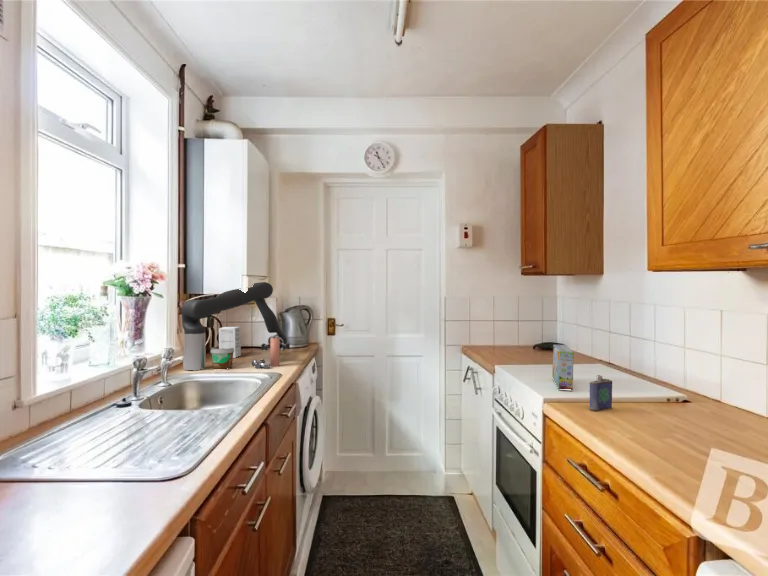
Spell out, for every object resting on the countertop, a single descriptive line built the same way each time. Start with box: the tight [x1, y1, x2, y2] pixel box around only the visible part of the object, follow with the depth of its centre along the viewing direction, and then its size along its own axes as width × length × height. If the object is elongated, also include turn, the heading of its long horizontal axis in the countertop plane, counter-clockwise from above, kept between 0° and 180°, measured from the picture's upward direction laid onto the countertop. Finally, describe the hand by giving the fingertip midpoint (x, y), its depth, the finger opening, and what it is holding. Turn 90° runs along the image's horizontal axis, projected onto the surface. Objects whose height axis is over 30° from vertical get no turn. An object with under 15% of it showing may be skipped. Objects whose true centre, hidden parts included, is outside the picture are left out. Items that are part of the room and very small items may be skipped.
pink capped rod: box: [269, 335, 280, 368], centre depth 205 cm, size 4×4×15 cm
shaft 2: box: [254, 362, 271, 370], centre depth 200 cm, size 7×3×3 cm, turn 81°
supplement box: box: [218, 326, 242, 359], centre depth 233 cm, size 10×9×17 cm
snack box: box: [552, 344, 575, 390], centre depth 164 cm, size 21×6×15 cm, turn 164°
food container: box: [209, 346, 234, 370], centre depth 198 cm, size 12×6×10 cm, turn 73°
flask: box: [589, 374, 613, 412], centre depth 131 cm, size 9×3×11 cm, turn 115°
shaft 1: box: [251, 358, 266, 367], centre depth 207 cm, size 7×3×3 cm, turn 156°
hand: (275, 348), depth 209 cm, fingers open, 8 cm apart
